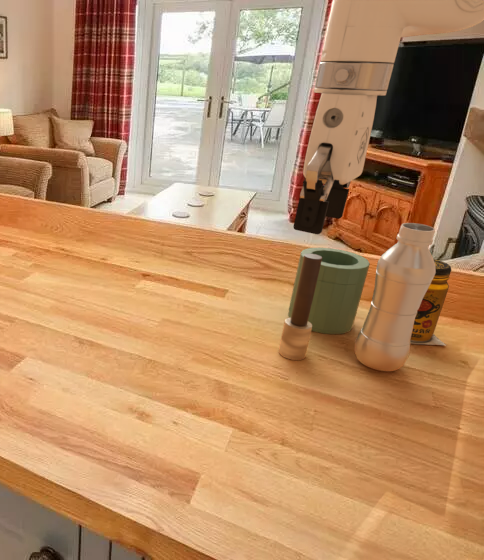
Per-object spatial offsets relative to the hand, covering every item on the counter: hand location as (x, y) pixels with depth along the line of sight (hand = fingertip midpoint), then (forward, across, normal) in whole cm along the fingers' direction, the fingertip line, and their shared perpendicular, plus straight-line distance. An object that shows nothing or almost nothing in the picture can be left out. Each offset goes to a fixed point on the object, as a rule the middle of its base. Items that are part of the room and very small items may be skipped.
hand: (318, 223), depth 63 cm
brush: (+20, 0, 0) cm, 20 cm away
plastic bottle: (+20, +5, -10) cm, 23 cm away
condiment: (+19, +20, -12) cm, 30 cm away
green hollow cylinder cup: (+19, +14, 0) cm, 24 cm away
